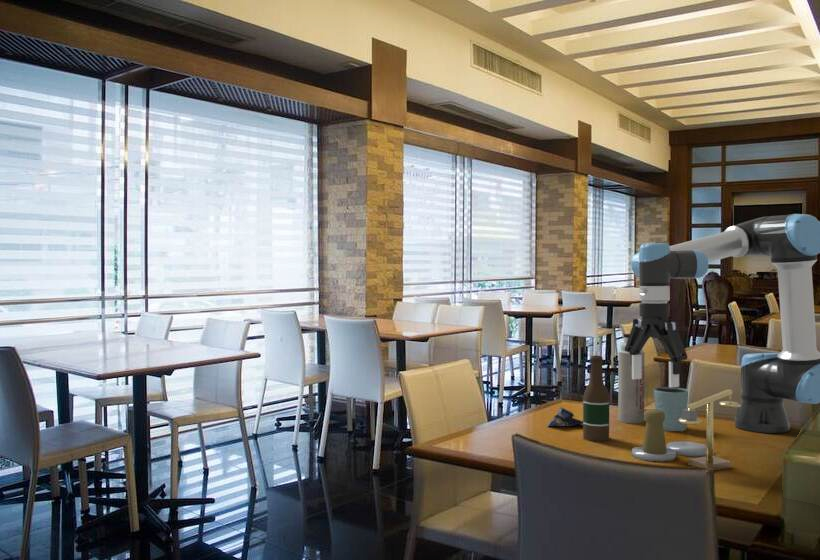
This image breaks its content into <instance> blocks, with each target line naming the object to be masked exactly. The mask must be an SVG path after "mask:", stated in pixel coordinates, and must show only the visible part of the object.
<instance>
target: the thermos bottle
mask: <svg viewBox="0 0 820 560" xmlns="http://www.w3.org/2000/svg"><path fill="white" fill-rule="evenodd" d="M629 335H630V333H624V334H622V336H623V343H621V344H620V350H618V363H617V365H618V370H617V371H618V373H617V375H618V376H617V377H618V378H617V379H618V382H617V383H618V387H617V388H618V390H617V393H618V397H617V399H618V400H617V401H618V405H617V407H618V408H617V412H618V413H617V415H618V417H617V421H619V422H621V423H625V424H642V423H644V422H645V418H644V414H645V351H643V348H642V349H641V351H640V353H641V354H638V355H642V379H632V366H631V355H630V353H629V352H628V351H625V346H626V344H627V341H628V338H629ZM630 347H631V346H630Z"/></svg>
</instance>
